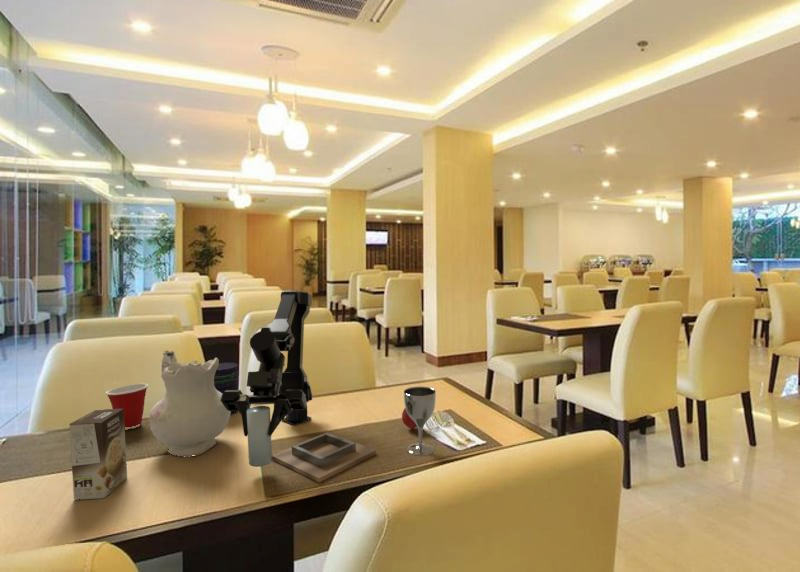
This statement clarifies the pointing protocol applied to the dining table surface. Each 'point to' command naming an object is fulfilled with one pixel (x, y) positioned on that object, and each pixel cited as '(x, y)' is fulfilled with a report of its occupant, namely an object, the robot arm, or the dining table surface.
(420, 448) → the wine glass
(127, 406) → the plastic cup
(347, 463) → the collar board
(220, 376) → the storage jar
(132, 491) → the dining table surface
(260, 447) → the ceramic canister
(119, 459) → the coffee box
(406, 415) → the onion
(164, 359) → the ceramic pitcher
